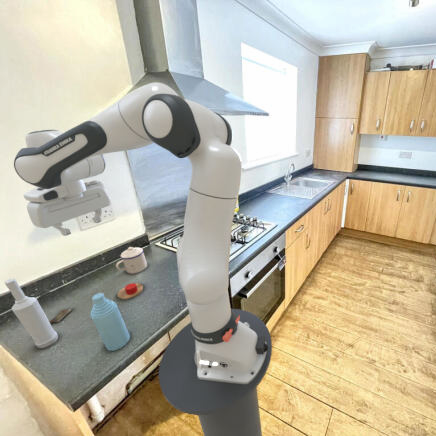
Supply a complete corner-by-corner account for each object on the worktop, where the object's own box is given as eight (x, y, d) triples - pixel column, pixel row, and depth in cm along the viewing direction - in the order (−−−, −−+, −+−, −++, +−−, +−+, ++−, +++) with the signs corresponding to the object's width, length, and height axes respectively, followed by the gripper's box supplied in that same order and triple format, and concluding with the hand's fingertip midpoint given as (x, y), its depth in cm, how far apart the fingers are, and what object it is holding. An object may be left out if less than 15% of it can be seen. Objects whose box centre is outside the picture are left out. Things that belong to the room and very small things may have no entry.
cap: (134, 294, 95) (132, 289, 94) (124, 295, 95) (122, 289, 94) (139, 288, 99) (137, 282, 97) (130, 288, 98) (128, 283, 97)
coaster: (148, 286, 100) (147, 285, 100) (129, 301, 92) (129, 300, 92) (132, 282, 103) (131, 281, 102) (112, 296, 95) (112, 295, 94)
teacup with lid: (142, 260, 118) (135, 240, 113) (151, 266, 113) (145, 246, 109) (115, 273, 109) (107, 252, 104) (124, 280, 104) (116, 258, 99)
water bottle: (134, 336, 78) (116, 291, 70) (116, 353, 72) (94, 306, 64) (120, 331, 80) (100, 286, 72) (101, 347, 74) (78, 301, 66)
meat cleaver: (76, 311, 88) (66, 308, 89) (75, 308, 88) (65, 306, 89) (37, 336, 78) (27, 333, 79) (36, 333, 77) (26, 330, 78)
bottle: (40, 351, 73) (-1, 289, 63) (34, 344, 75) (-7, 283, 65) (61, 338, 77) (25, 278, 67) (55, 332, 79) (19, 273, 69)
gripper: (94, 178, 80) (107, 214, 86) (15, 196, 62) (38, 241, 68) (107, 179, 78) (120, 216, 84) (30, 199, 61) (53, 244, 66)
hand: (83, 228), depth 76 cm, fingers open, 8 cm apart
